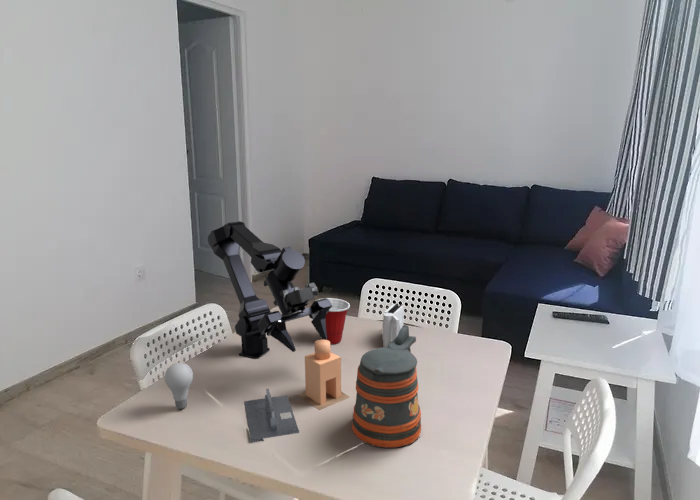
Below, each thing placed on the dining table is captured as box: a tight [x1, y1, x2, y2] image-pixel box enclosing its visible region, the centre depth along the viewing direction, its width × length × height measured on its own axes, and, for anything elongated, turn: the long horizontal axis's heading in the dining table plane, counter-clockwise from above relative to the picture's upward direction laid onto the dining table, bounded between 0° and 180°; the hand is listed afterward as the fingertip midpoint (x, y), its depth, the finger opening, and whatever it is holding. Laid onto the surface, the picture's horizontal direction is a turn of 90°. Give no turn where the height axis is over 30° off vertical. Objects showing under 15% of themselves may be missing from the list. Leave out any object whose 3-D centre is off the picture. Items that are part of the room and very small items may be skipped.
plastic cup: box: [314, 297, 351, 345], centre depth 156 cm, size 11×11×12 cm
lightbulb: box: [164, 362, 194, 410], centre depth 119 cm, size 6×6×11 cm
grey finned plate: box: [244, 388, 300, 443], centre depth 115 cm, size 16×10×5 cm, turn 15°
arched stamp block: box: [304, 339, 342, 405], centre depth 123 cm, size 6×6×14 cm
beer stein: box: [351, 324, 422, 449], centre depth 112 cm, size 19×15×20 cm
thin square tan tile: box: [297, 390, 351, 411], centre depth 125 cm, size 9×9×1 cm
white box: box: [382, 303, 405, 348], centre depth 154 cm, size 14×5×10 cm, turn 168°
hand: (310, 345), depth 126 cm, fingers open, 9 cm apart
